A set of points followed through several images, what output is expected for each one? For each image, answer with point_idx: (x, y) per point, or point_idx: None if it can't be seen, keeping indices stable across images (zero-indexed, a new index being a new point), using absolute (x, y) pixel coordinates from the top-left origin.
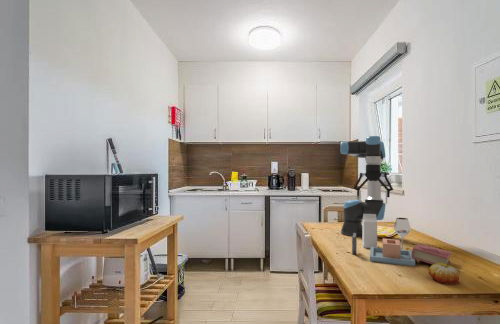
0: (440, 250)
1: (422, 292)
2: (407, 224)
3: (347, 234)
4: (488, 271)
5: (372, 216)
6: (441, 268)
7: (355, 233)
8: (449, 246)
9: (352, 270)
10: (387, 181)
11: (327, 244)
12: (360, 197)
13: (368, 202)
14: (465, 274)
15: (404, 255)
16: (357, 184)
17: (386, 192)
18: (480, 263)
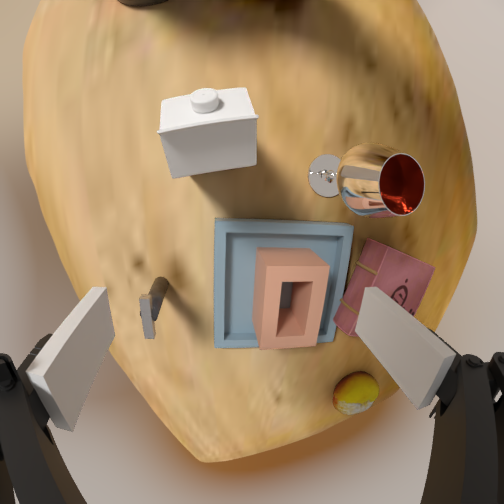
0: (416, 279)
1: (297, 439)
2: (402, 210)
3: (130, 4)
4: (446, 296)
5: (228, 126)
6: (352, 412)
7: (148, 305)
8: (446, 86)
9: (183, 406)
10: (498, 484)
11: (59, 182)
12: (98, 367)
13: None
14: None
15: (324, 244)
16: (7, 485)
17: (418, 399)
18: (459, 242)
